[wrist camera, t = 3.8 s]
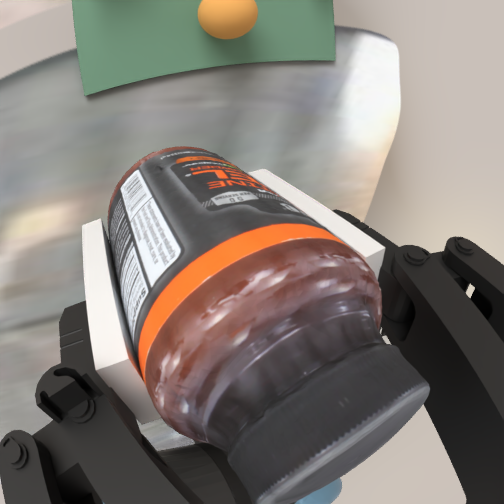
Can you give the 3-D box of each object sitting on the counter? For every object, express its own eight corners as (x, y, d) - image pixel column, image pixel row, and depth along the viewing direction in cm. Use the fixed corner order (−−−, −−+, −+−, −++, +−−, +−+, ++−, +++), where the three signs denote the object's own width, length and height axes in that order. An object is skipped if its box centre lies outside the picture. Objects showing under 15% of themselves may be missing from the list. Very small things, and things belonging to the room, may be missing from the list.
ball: (243, 39, 19) (271, 35, 17) (192, 44, 18) (212, 39, 15) (239, -7, 17) (267, -18, 14) (187, -5, 16) (207, -19, 13)
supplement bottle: (257, 164, 14) (492, 327, 5) (211, 275, 16) (355, 472, 7) (128, 124, 10) (360, 396, 2) (92, 262, 12) (175, 549, 4)
